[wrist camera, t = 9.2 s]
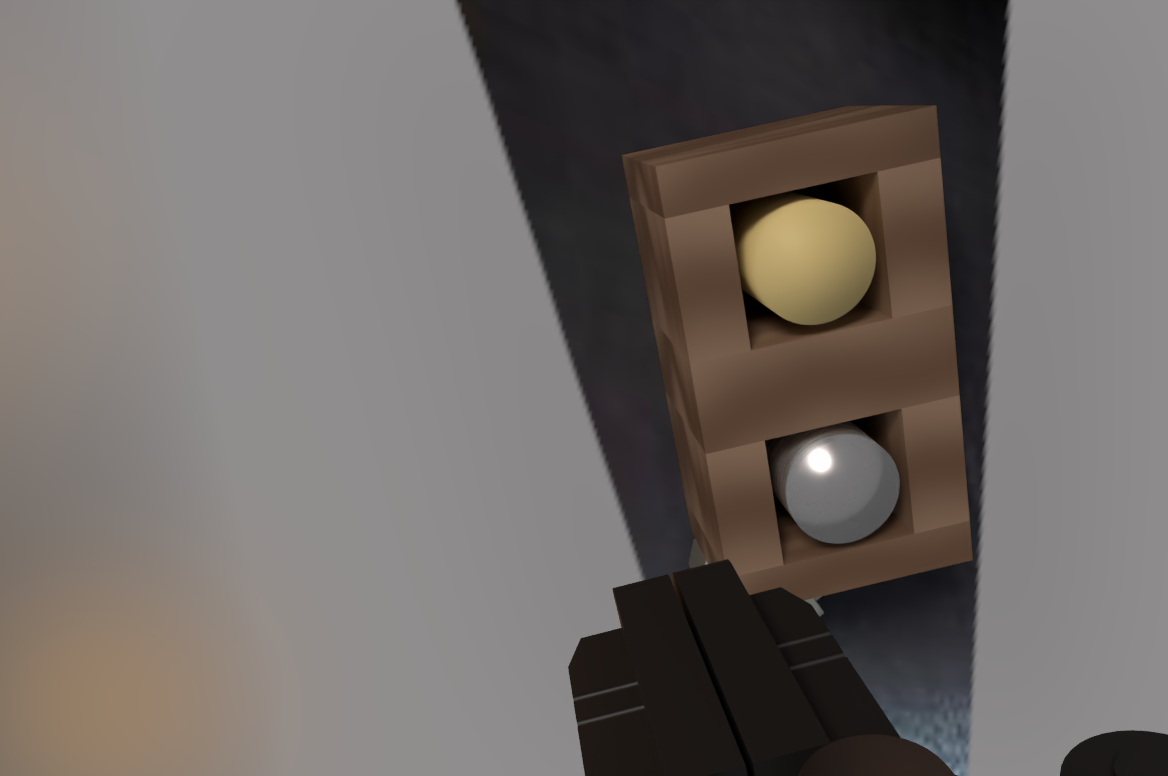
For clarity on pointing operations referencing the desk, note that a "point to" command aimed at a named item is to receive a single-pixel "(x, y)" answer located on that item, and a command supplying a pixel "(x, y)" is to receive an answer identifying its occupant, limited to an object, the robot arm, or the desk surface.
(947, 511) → the socket block
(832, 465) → the steel peg
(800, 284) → the mustard peg
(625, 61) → the desk surface
